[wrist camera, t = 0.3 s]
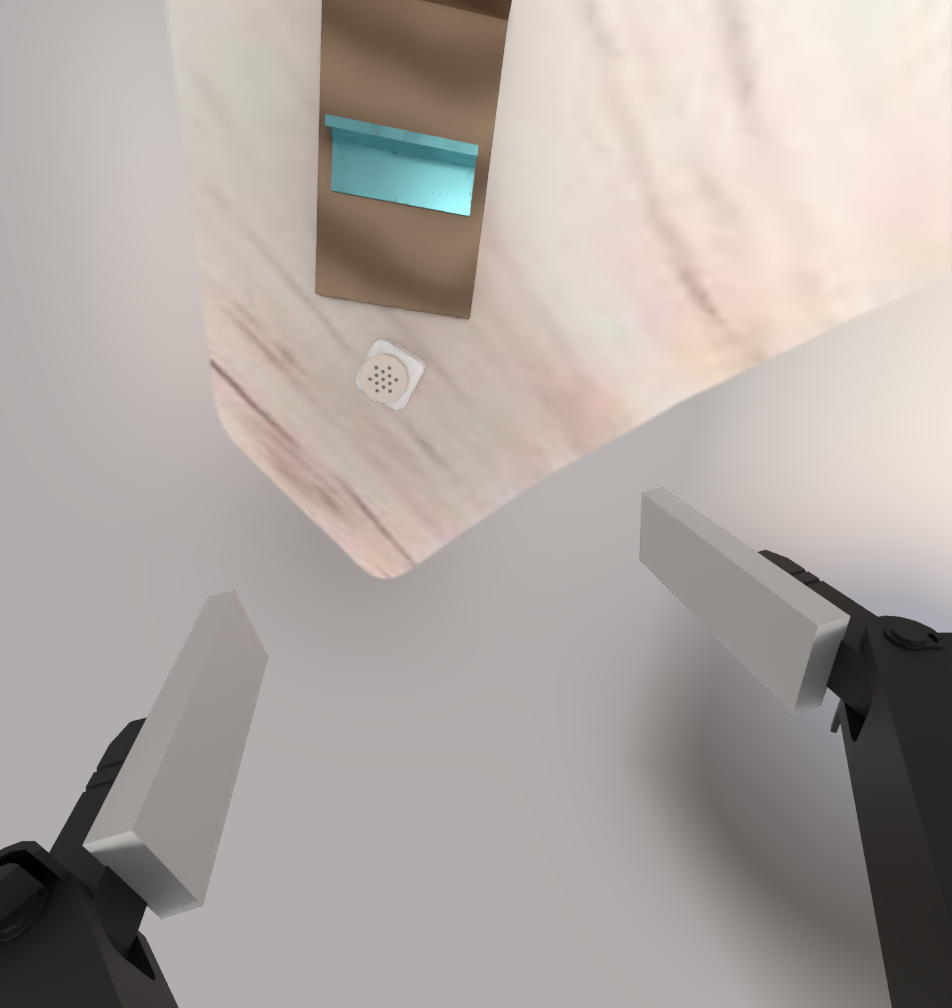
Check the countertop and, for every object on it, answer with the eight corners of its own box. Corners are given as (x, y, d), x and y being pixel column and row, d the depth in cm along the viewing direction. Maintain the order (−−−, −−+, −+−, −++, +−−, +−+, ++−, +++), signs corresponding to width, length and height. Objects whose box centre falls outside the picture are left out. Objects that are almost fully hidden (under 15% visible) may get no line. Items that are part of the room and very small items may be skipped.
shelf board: (329, -36, 29) (312, -93, 25) (508, 7, 31) (517, -40, 27) (320, 295, 36) (306, 289, 32) (468, 318, 37) (471, 315, 33)
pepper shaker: (387, 336, 37) (369, 334, 28) (429, 363, 38) (425, 369, 29) (364, 379, 38) (341, 389, 29) (406, 404, 39) (395, 421, 30)
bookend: (333, 131, 31) (325, 113, 29) (475, 159, 32) (478, 145, 30) (332, 191, 32) (323, 179, 30) (469, 216, 33) (471, 207, 31)
